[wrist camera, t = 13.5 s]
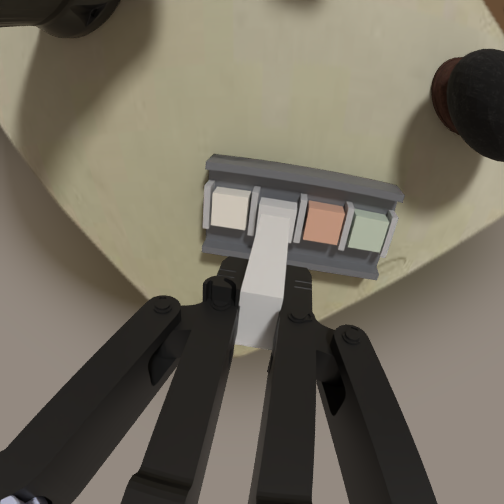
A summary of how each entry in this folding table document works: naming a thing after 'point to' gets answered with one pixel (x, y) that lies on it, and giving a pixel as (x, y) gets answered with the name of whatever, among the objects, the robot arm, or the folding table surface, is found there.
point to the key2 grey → (278, 211)
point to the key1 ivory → (230, 208)
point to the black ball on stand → (473, 100)
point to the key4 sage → (367, 230)
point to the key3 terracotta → (323, 222)
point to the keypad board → (300, 211)
